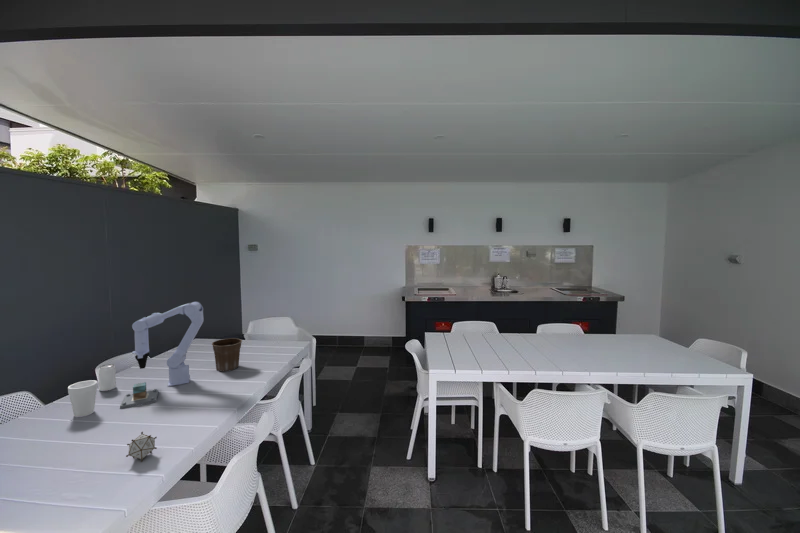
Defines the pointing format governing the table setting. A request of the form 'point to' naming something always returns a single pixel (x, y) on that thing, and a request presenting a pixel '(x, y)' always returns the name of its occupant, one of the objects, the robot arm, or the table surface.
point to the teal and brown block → (139, 391)
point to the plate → (149, 398)
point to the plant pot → (227, 353)
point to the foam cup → (83, 397)
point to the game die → (141, 446)
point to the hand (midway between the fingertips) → (142, 368)
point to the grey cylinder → (107, 377)
